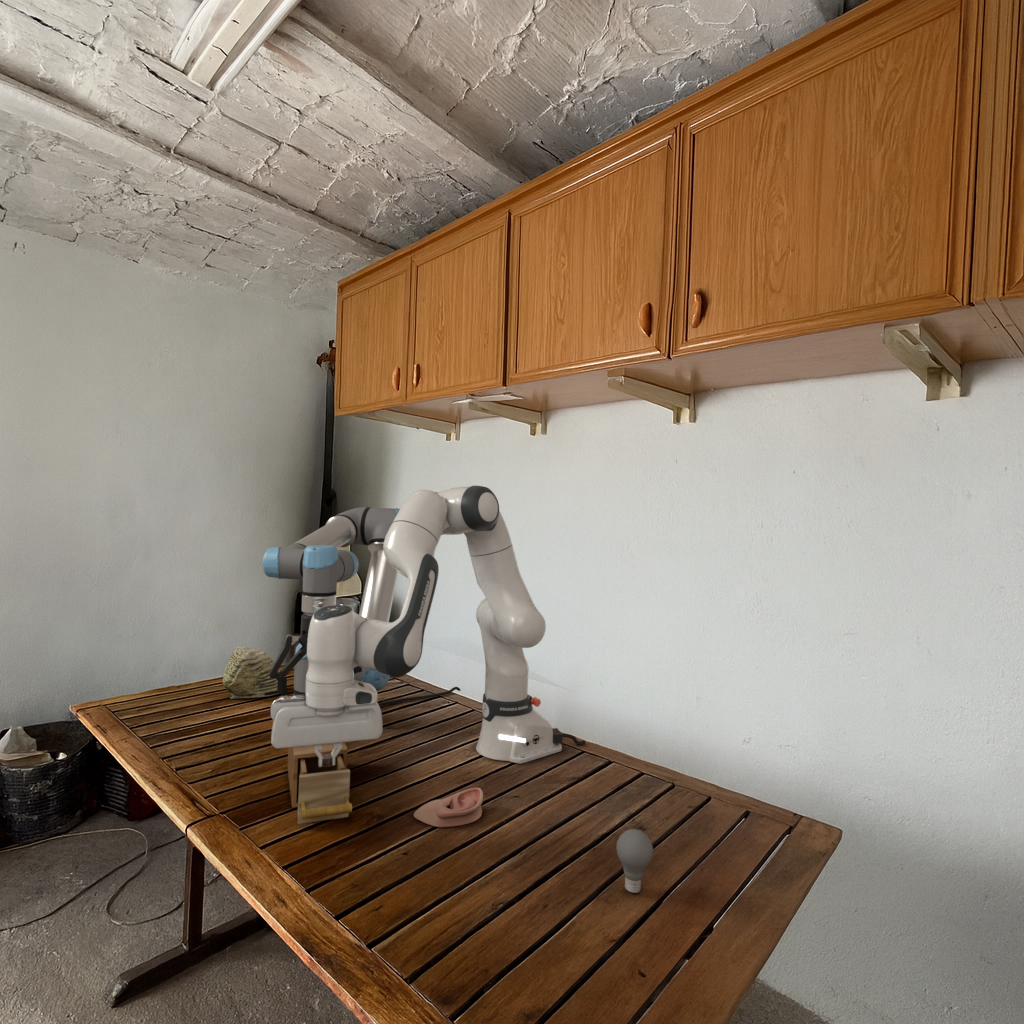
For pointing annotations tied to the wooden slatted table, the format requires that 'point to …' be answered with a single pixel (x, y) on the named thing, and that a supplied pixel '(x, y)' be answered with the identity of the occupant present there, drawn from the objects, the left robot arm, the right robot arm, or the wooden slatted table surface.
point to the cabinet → (304, 753)
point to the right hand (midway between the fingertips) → (326, 765)
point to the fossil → (249, 674)
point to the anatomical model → (452, 809)
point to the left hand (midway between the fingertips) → (315, 705)
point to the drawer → (322, 790)
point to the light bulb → (634, 857)
